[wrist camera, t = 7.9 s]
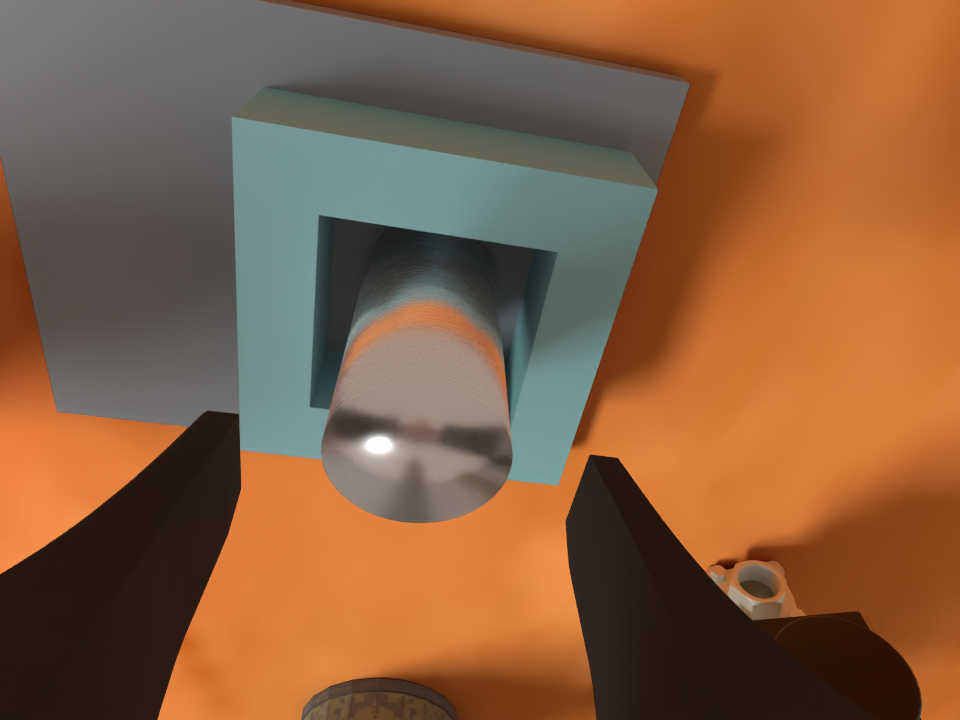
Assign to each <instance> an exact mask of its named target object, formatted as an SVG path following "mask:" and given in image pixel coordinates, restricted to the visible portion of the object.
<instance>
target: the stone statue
mask: <svg viewBox="0 0 960 720" xmlns="http://www.w3.org/2000/svg"><path fill="white" fill-rule="evenodd" d="M301 720H457V715H456V711H455V708H454V707H453V706H452V705H451V704H450V703H449V702H448V700H447V699H446V698H445V697H443V696H442V695H440V694H438V693H436V692H435V691H433V690H431V689H429V688H428V687H425V686H421V685H418V684H414V683H411V682H407V681H403V680H392V679H382V678H375V679H363V680H352V681H349V682H345V683H341V684H338V685H334V686H331V687H329V688H327V689H325V690H324V691H322V692H320V693H318V694H317V695H315V696H313V697H312V699H311V700H310V701H309V702H308V703H307V705H306V706H305V707H304V708H303V714H302V719H301Z"/></svg>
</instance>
